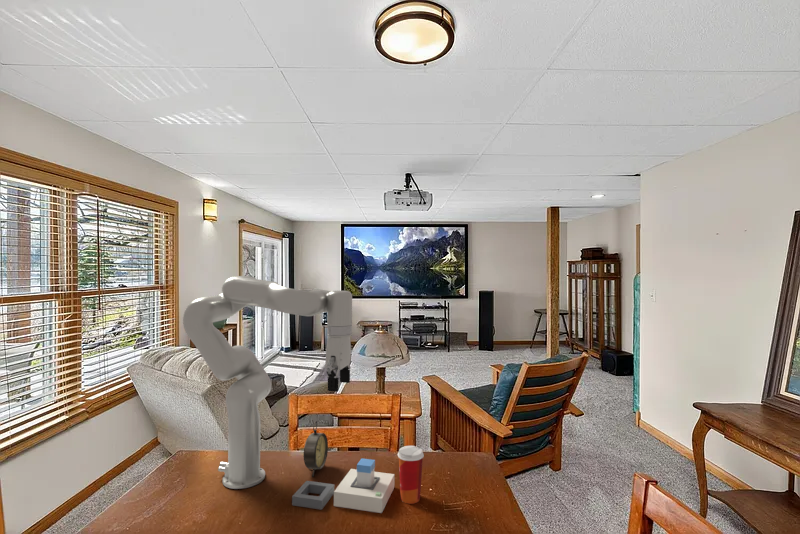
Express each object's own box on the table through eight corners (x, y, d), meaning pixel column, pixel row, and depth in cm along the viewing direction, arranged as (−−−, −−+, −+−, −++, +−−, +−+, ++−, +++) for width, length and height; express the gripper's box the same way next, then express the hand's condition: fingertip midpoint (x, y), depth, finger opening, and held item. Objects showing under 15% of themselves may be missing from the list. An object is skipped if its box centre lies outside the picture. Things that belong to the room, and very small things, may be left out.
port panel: (333, 505, 119) (333, 489, 119) (350, 481, 132) (351, 467, 132) (381, 513, 115) (381, 496, 115) (394, 487, 129) (394, 472, 129)
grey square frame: (292, 505, 119) (292, 496, 119) (306, 488, 128) (306, 480, 128) (321, 509, 117) (321, 500, 117) (334, 492, 125) (334, 484, 125)
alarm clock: (316, 479, 133) (316, 427, 133) (300, 477, 135) (300, 426, 135) (328, 463, 144) (329, 416, 144) (313, 462, 145) (314, 414, 145)
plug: (356, 499, 122) (356, 464, 122) (361, 491, 126) (361, 458, 126) (370, 501, 121) (370, 466, 121) (374, 493, 125) (375, 459, 125)
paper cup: (410, 488, 128) (410, 442, 128) (429, 498, 123) (429, 450, 123) (391, 498, 123) (391, 450, 123) (410, 509, 117) (410, 458, 117)
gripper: (338, 326, 139) (338, 378, 139) (316, 334, 122) (315, 393, 122) (360, 327, 138) (359, 380, 138) (340, 335, 121) (340, 395, 121)
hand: (339, 386), depth 130 cm, fingers open, 9 cm apart
